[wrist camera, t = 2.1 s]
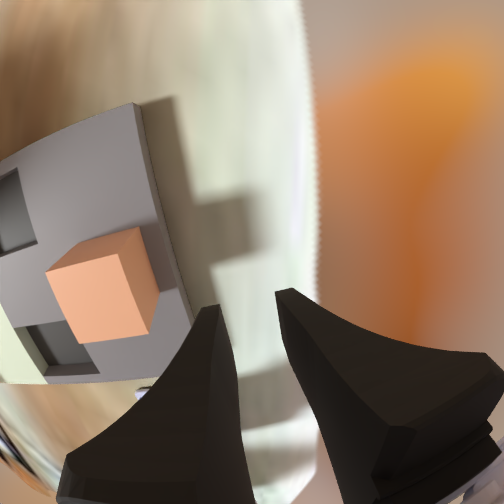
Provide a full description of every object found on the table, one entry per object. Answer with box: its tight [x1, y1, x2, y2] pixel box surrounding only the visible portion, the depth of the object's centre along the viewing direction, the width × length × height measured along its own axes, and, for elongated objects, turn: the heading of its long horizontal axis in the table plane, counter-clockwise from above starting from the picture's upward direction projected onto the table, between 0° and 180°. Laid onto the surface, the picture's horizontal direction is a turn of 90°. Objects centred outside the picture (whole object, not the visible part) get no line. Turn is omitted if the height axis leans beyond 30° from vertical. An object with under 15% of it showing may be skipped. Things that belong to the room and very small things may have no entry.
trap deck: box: [0, 103, 195, 384], centre depth 16 cm, size 19×26×4 cm
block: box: [45, 227, 160, 344], centre depth 15 cm, size 4×4×4 cm
